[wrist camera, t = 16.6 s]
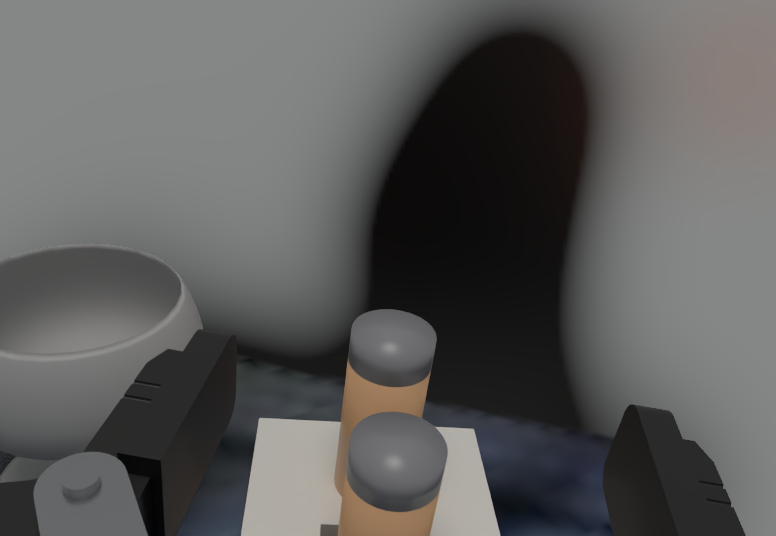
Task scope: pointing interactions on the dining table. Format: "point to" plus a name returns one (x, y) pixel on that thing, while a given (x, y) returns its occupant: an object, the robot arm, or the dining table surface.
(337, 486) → the white board with post
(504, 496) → the dining table surface
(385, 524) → the grey-capped tan peg
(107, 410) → the chalice
